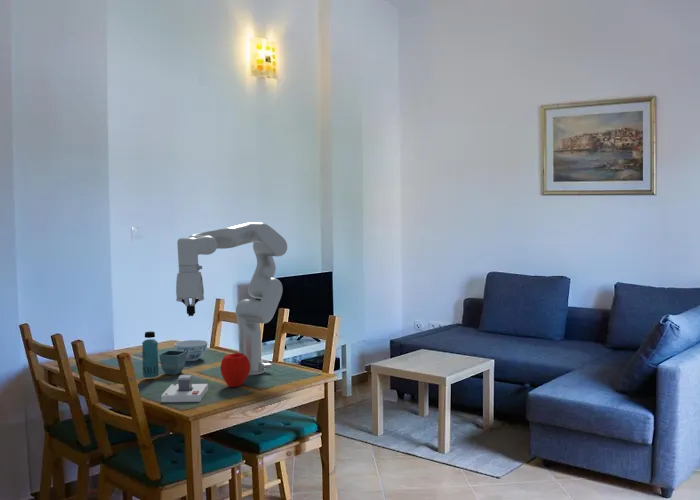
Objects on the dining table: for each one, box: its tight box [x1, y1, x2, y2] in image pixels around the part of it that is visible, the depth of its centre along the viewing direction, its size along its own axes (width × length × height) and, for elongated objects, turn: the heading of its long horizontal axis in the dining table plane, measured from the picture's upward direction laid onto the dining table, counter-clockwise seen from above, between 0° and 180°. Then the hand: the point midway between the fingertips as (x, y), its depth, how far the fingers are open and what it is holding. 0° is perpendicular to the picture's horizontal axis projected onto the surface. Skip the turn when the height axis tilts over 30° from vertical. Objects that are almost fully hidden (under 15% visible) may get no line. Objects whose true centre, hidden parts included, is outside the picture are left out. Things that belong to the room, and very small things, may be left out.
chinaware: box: [174, 339, 208, 362], centre depth 323 cm, size 15×15×8 cm
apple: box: [220, 352, 250, 388], centre depth 274 cm, size 12×12×13 cm
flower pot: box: [158, 350, 187, 376], centre depth 296 cm, size 9×9×9 cm
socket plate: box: [160, 383, 209, 403], centre depth 261 cm, size 14×16×3 cm
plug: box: [177, 374, 193, 391], centre depth 261 cm, size 4×4×7 cm
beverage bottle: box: [141, 331, 160, 379], centre depth 286 cm, size 6×7×20 cm
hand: (191, 315), depth 271 cm, fingers closed
